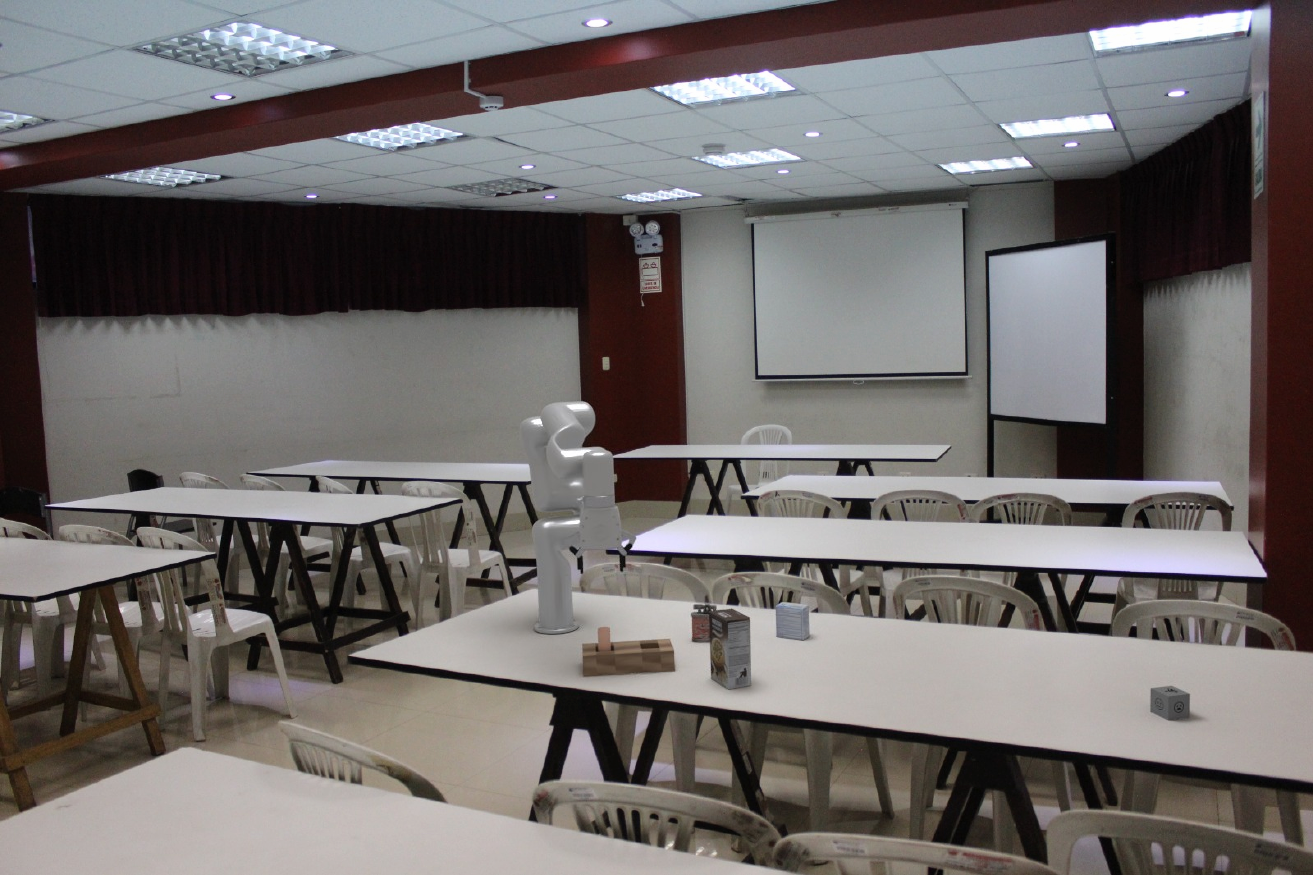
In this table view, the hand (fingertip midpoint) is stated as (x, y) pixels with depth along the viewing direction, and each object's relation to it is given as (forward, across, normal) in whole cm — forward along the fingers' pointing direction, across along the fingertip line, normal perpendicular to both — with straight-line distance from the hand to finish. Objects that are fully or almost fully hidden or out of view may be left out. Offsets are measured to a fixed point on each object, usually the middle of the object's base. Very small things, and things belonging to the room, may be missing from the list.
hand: (601, 571), depth 236 cm
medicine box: (+24, +51, +17) cm, 59 cm away
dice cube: (+24, +113, -51) cm, 126 cm away
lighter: (+24, +28, +18) cm, 41 cm away
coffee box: (+24, +29, -15) cm, 40 cm away
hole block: (+24, +6, 0) cm, 25 cm away
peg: (+24, 0, 0) cm, 24 cm away
